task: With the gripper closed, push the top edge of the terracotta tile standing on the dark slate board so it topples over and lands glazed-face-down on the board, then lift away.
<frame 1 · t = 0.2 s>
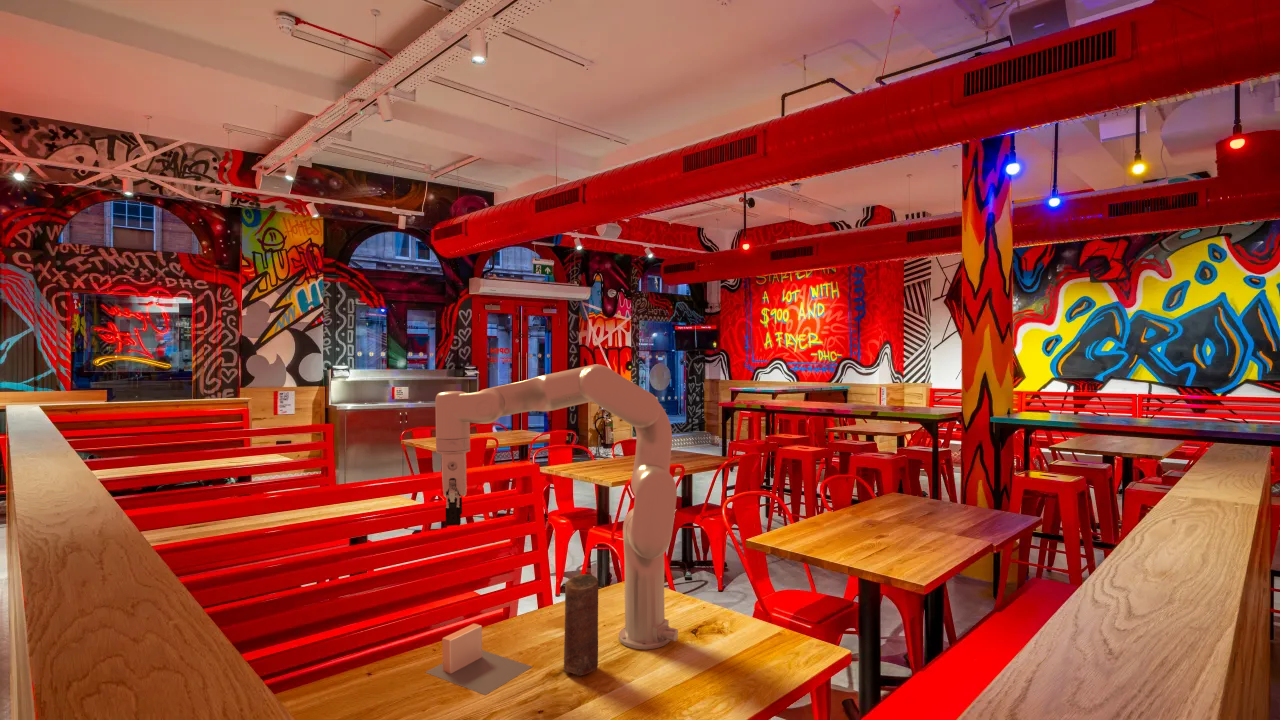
hand: (454, 519, 153), 31 cm above the table, tool pointing down, fingers open, 9 cm apart
board: (479, 673, 143), on the table
tile: (462, 663, 146), point 1 cm above the table, touching board
brown weathered post: (581, 672, 144), on the table
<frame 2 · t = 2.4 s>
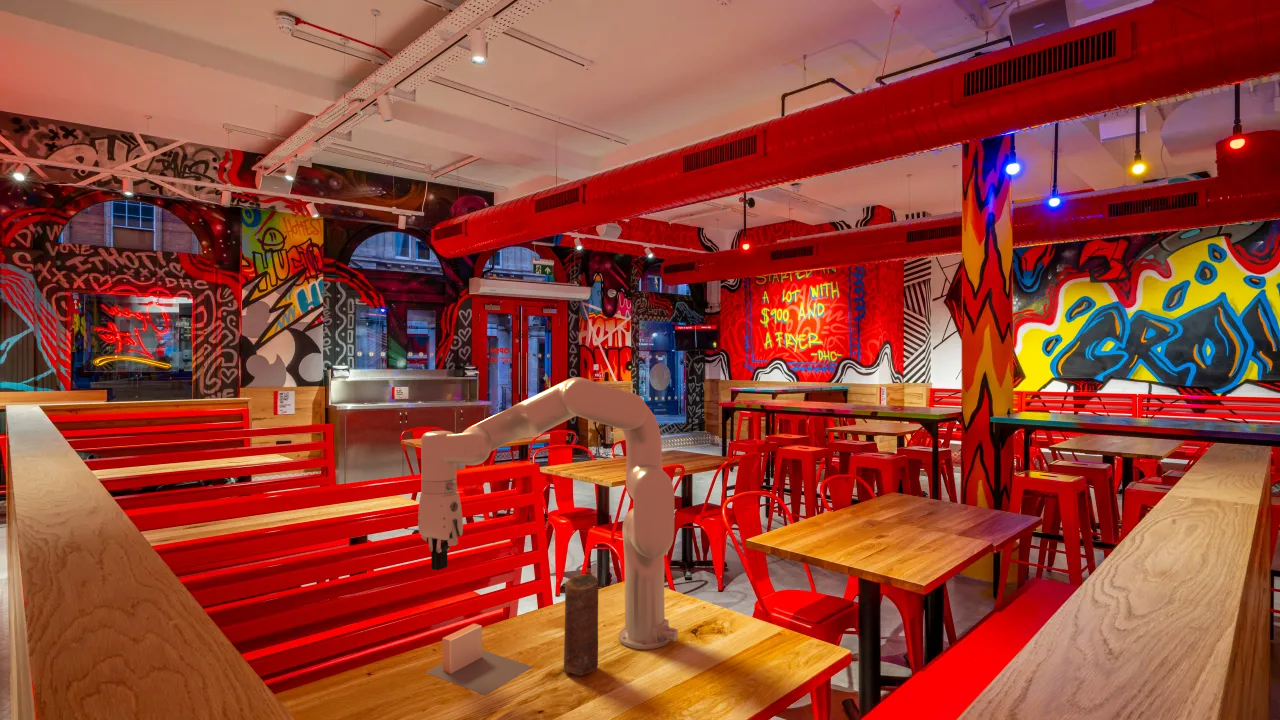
hand: (439, 568, 150), 21 cm above the table, tool pointing down, fingers closed
nothing on the table moved.
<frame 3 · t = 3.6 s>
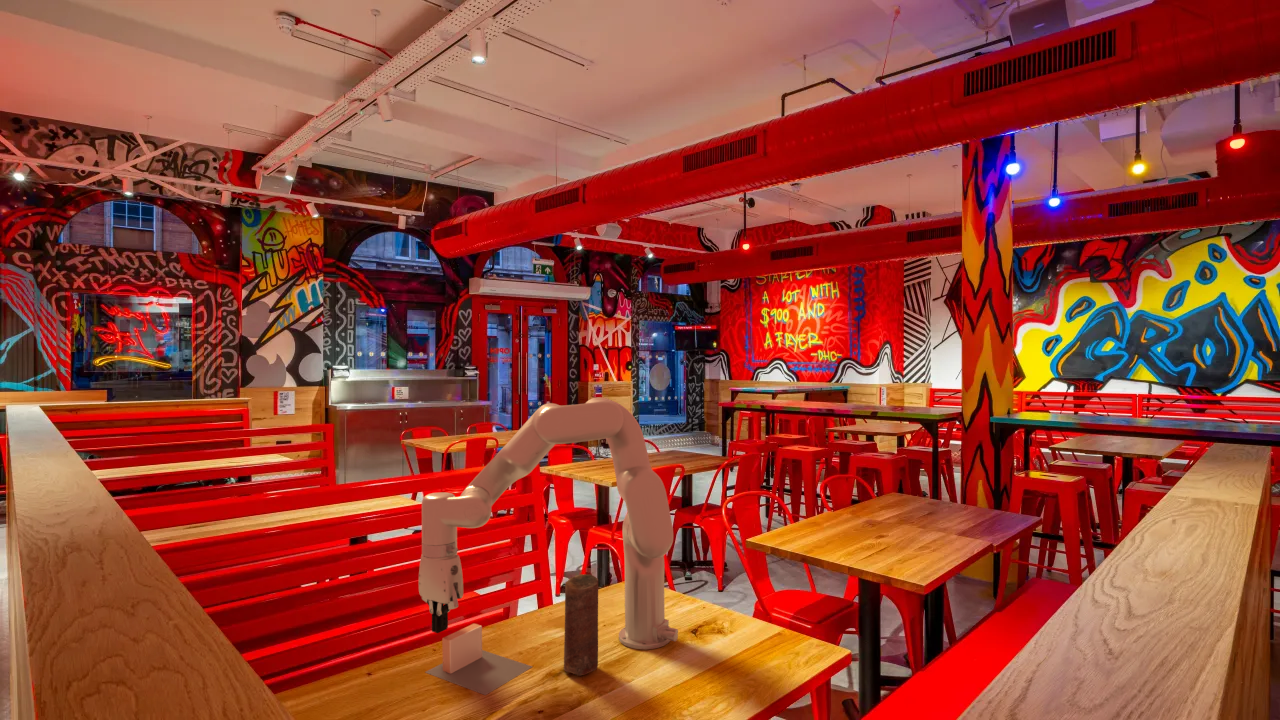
hand: (439, 630, 150), 7 cm above the table, tool pointing down, fingers closed
nothing on the table moved.
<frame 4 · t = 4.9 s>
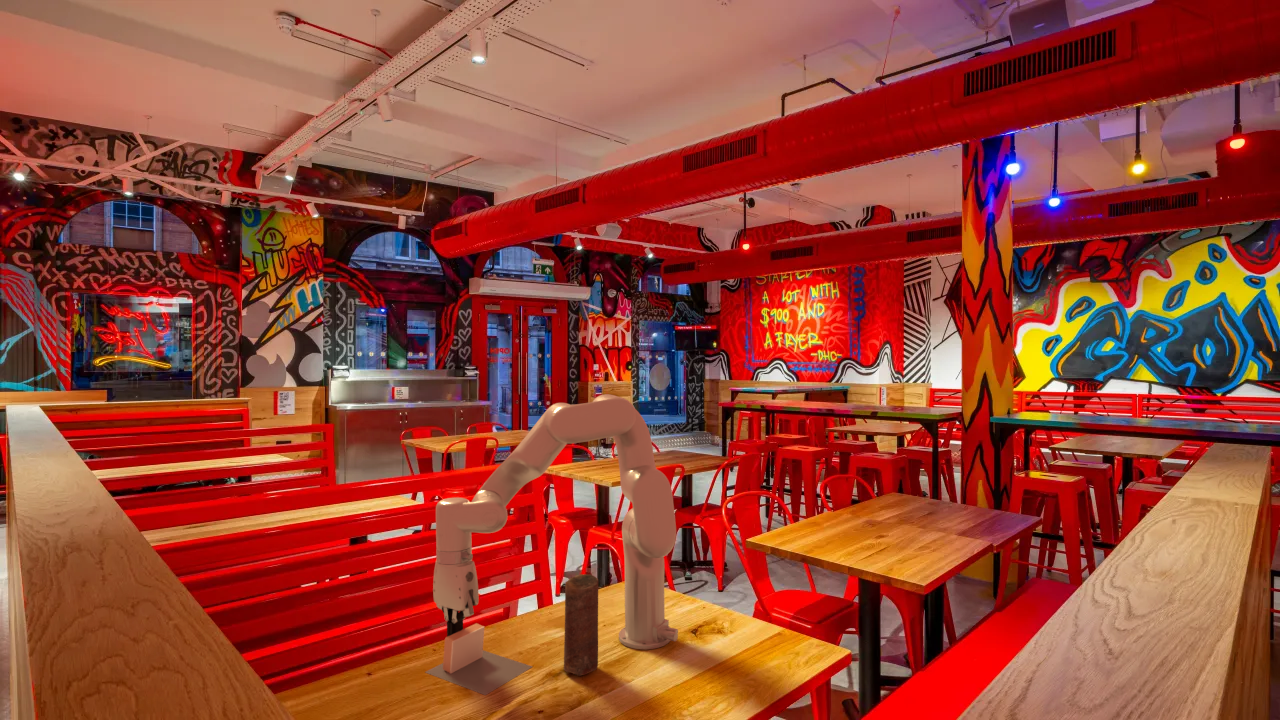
hand: (455, 637, 147), 6 cm above the table, tool pointing down, fingers closed
tile: (463, 663, 146), point 1 cm above the table, tilted 7°, touching board
everything else where it was.
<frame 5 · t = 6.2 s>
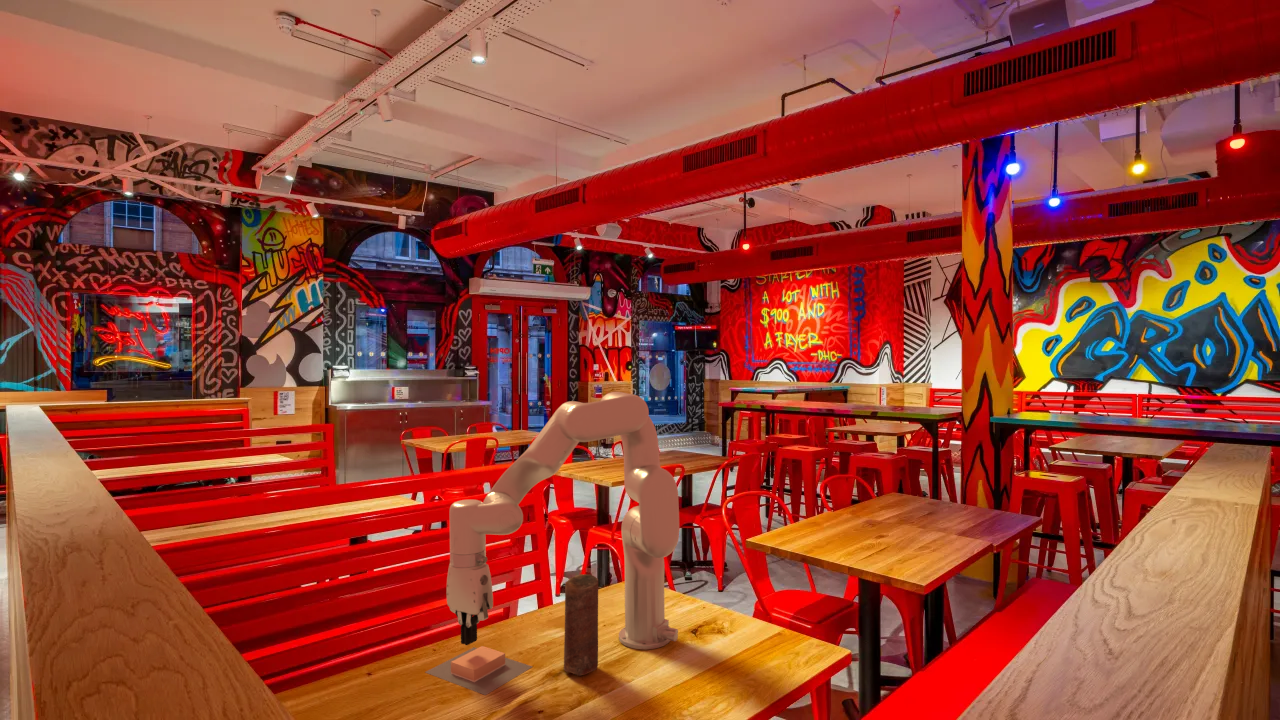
hand: (469, 642, 145), 6 cm above the table, tool pointing down, fingers closed
tile: (467, 659, 145), point 2 cm above the table, tilted 90°, touching board
everything else where it was.
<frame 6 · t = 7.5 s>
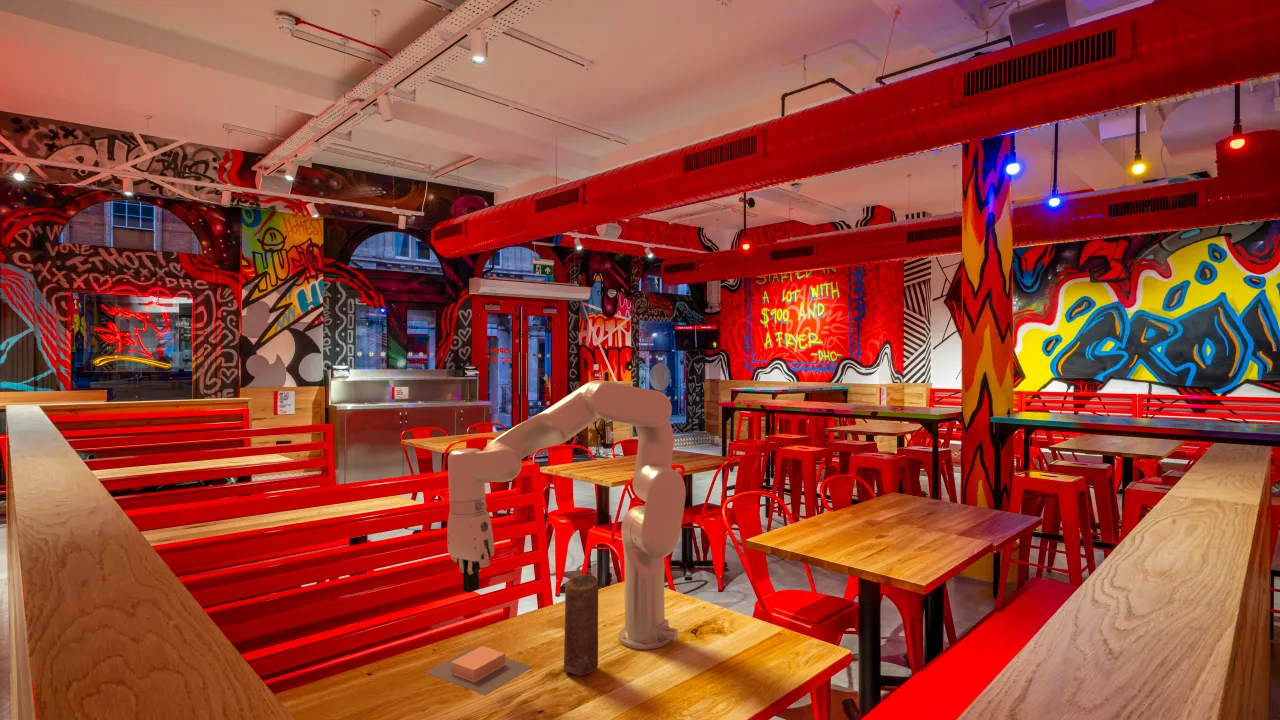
hand: (471, 590, 145), 17 cm above the table, tool pointing down, fingers closed
nothing on the table moved.
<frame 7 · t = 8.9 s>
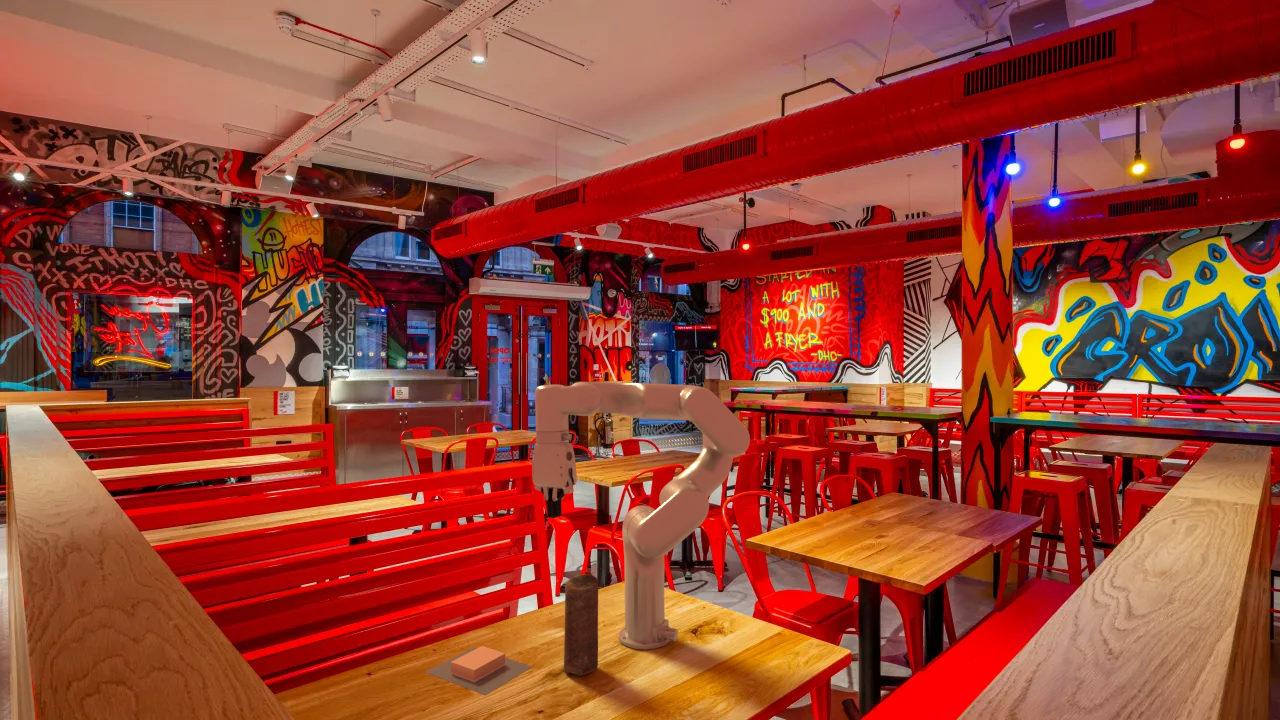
hand: (554, 516, 155), 31 cm above the table, tool pointing down, fingers closed
nothing on the table moved.
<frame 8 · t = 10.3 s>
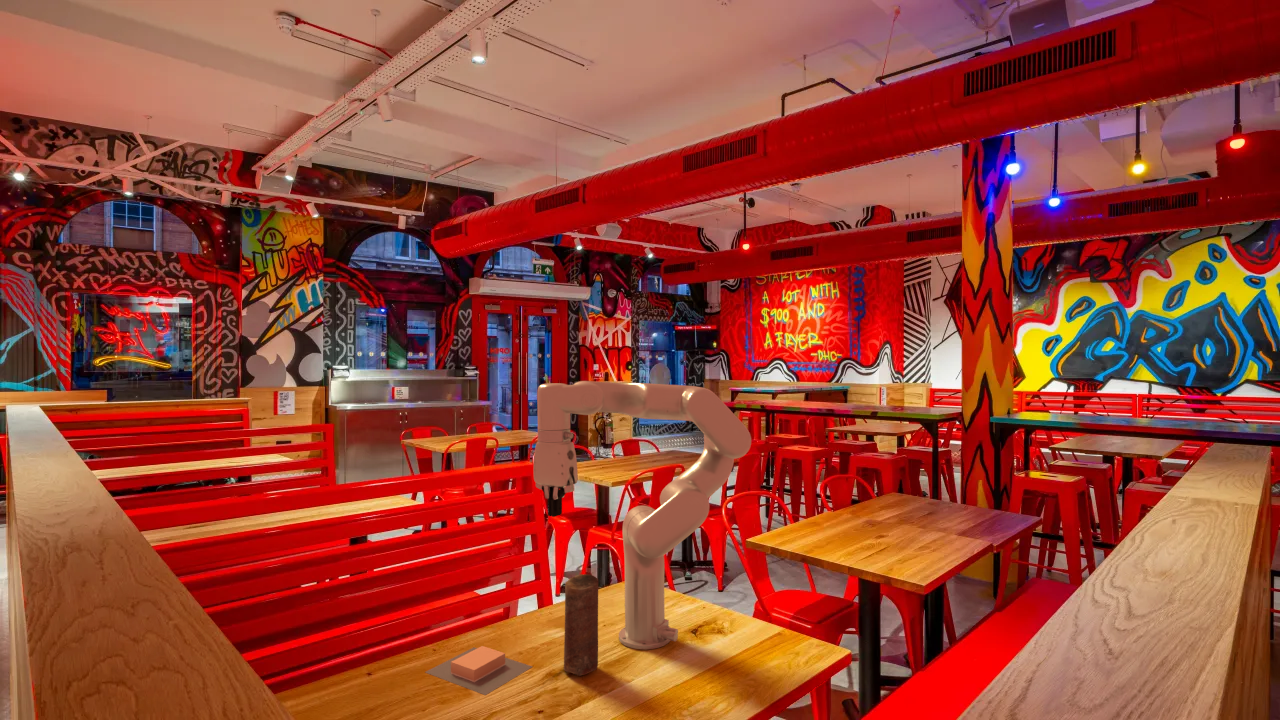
hand: (554, 515, 155), 31 cm above the table, tool pointing down, fingers closed
nothing on the table moved.
at the end: tile tilted 90°; tile inside the target area on the board (3.7 cm from its centre), point 2.2 cm above the board's base; tile touching board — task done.
